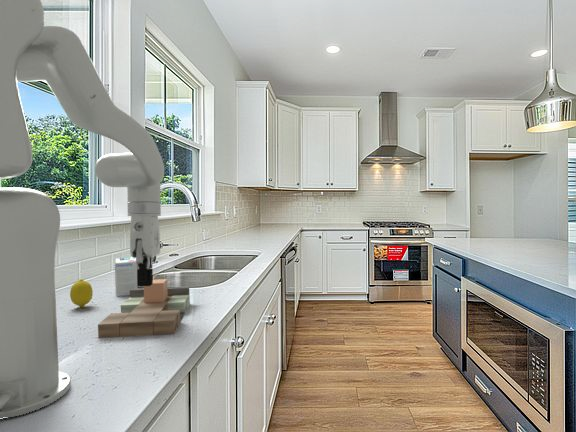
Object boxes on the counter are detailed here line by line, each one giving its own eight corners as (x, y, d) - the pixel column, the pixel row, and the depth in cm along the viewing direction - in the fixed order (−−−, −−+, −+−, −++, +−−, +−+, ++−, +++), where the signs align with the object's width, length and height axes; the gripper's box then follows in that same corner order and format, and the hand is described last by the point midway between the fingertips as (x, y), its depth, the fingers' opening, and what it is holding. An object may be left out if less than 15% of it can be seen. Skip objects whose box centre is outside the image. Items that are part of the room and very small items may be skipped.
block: (163, 301, 97) (163, 283, 97) (144, 302, 96) (143, 283, 96) (167, 296, 102) (167, 279, 102) (148, 297, 101) (148, 279, 101)
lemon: (83, 310, 100) (82, 281, 100) (65, 309, 101) (64, 281, 101) (97, 305, 106) (96, 277, 105) (80, 304, 107) (79, 277, 107)
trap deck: (174, 333, 81) (173, 311, 81) (98, 338, 79) (97, 315, 79) (189, 304, 105) (189, 286, 105) (131, 306, 103) (131, 289, 103)
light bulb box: (115, 289, 125) (114, 258, 124) (137, 287, 128) (136, 256, 127) (115, 296, 115) (114, 262, 115) (138, 294, 118) (137, 261, 117)
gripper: (152, 209, 82) (153, 291, 82) (166, 210, 97) (167, 279, 97) (117, 209, 81) (118, 292, 81) (137, 210, 96) (137, 280, 96)
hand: (145, 285), depth 89 cm, fingers closed
